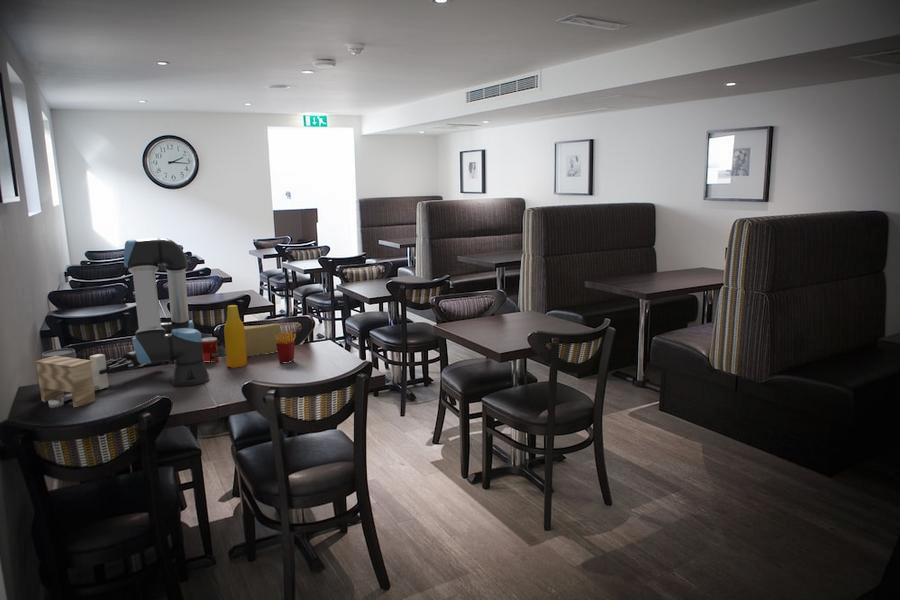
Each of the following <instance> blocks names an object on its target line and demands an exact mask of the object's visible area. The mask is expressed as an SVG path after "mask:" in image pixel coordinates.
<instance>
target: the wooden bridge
mask: <svg viewBox="0 0 900 600" xmlns="http://www.w3.org/2000/svg"><path fill="white" fill-rule="evenodd" d="M91 363H92V360H90V359H83V358H69V357H62V356H53V357H49V358H45V359H42V358H41V359H40V360H35V361H34V364H36V369H37V376H38V383H39V391H40V397H41V402H42V401H43V402H42V403H47V402H48V400H50V399H53V398H57V397H59V396H62V395H64V396H65V392H66V393H72V399H71V400H72V406H73V408H75V407H78V408H80V407H79V406H81V407H83V406H86V405H88V404H87V403H89V404H91V403H90V402H92V403H93V401H94V402H96V393H95V392H96V391H94V384H93V376H92V368H91ZM46 401H47V402H46ZM85 404H86V405H85ZM82 405H83V406H82Z"/></svg>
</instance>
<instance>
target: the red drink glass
mask: <svg viewBox="0 0 900 600" xmlns="http://www.w3.org/2000/svg"><path fill="white" fill-rule="evenodd" d="M201 339H202V351H203V361H210V362H211V361H216V362H218V361H219V360H218V359H220V356H219V345H218V338H217V337H215V336H214V337H213V336H210V337H203V338H202V337H201Z"/></svg>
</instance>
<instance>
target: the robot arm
mask: <svg viewBox="0 0 900 600" xmlns="http://www.w3.org/2000/svg"><path fill="white" fill-rule="evenodd" d="M123 252H124V253H123V266H124V268H128V272H129V273H131V274H132V278H133V287H134V296H135V297H134V298H135V306H136V307H135V308H136V315H137V325H138V329H137V330H136V331H135V336H134V337H132V338H131V340H132V344H133V347H134V350H132V351H129V352H126V353H123V355H122V357H117V358H116V359H114V358H110V359H108V360H106V367H103V368H100V369H97V370H93V371H92V376H93V378H94V377H97V376H100V375H103V374H106V373H107V374H110V373H111V374H115V373H118V372H121V371H125V370H133V369H135V368H138V367H143V366H144V365H148V364H150V365H151V364H156V363H161V362H169V361H174V368H173V373H172V376H171V383H172V385H173V386H177V387H189V386H190V387H191V386H196V385H201V384H204V383H206V382H208V381H209V380H210V374H209V372H208V370H207V366H206V365H205V362H204V361H203V351H202V334H201V331H199V330H198V329H195V326H194V325H195V324H194V321H193V320H190V319H189V318H190V317H189V316H190V315H189V306H188V304H189V302H188V288H187V277H186V270H187V269H188V267H189V266H188V259H187V255H186V254H185V252H184V251H183V249H182V248H181V247H180V246H179V245H178V244H177V243H176V242H175V241H173V240H171V239H169V238H166V237H159V238H136V239H129V240H126V241H125V243H124V251H123ZM161 265H162V266H163V269H164V270H166V273H167V274H166V275H167V286H168V287H167V288H168V298H169V309H170V319H171V322H161V321H162V320H161V313H160V306H159V305H160V304H159V298H158V297H159V296H158V288H157V279H156V272H157V271H158V270H159V266H161ZM106 368H107V369H106Z"/></svg>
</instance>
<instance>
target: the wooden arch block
mask: <svg viewBox="0 0 900 600" xmlns="http://www.w3.org/2000/svg"><path fill="white" fill-rule="evenodd" d="M89 360H92V363H91V368H92V371H93V370H97V369H100V368H103V367H106V361H107V360H106V355H105V354H103V353H97V354H93V355H90V356H89ZM106 369H107V368H106ZM93 384H94V392H96V391H98V390H99V391H100V390H102V389H105V388H109V378H108V373H106V374H103V375H100V376H97V377H94V378H93ZM61 398H63V400H64V402H66V401H70V400H72V392H70V393H68V394H66V395H65V394H64V396H62V397H61Z"/></svg>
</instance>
